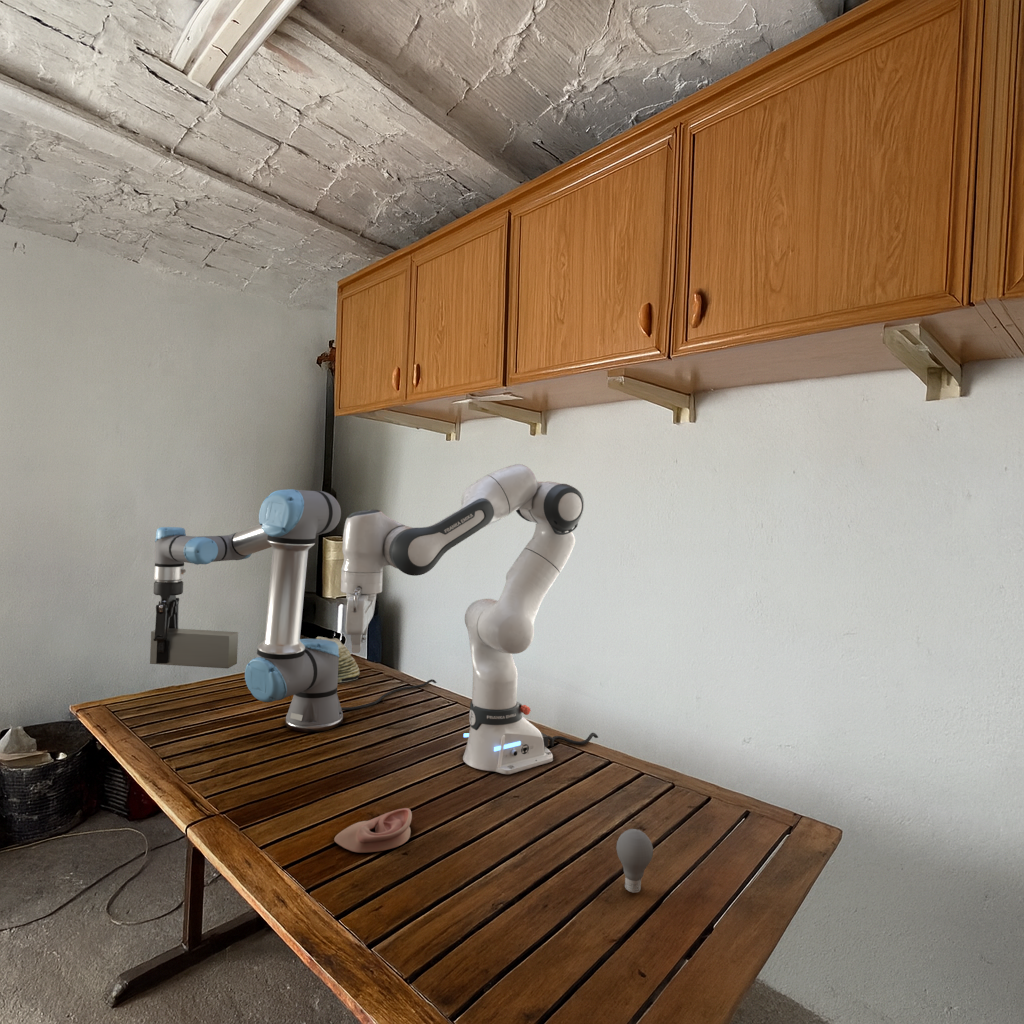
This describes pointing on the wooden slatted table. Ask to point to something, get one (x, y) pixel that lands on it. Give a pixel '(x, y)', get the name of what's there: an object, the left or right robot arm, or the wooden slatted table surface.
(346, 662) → the fossil
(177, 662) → the bar
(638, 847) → the light bulb
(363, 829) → the anatomical model
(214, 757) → the wooden slatted table surface
